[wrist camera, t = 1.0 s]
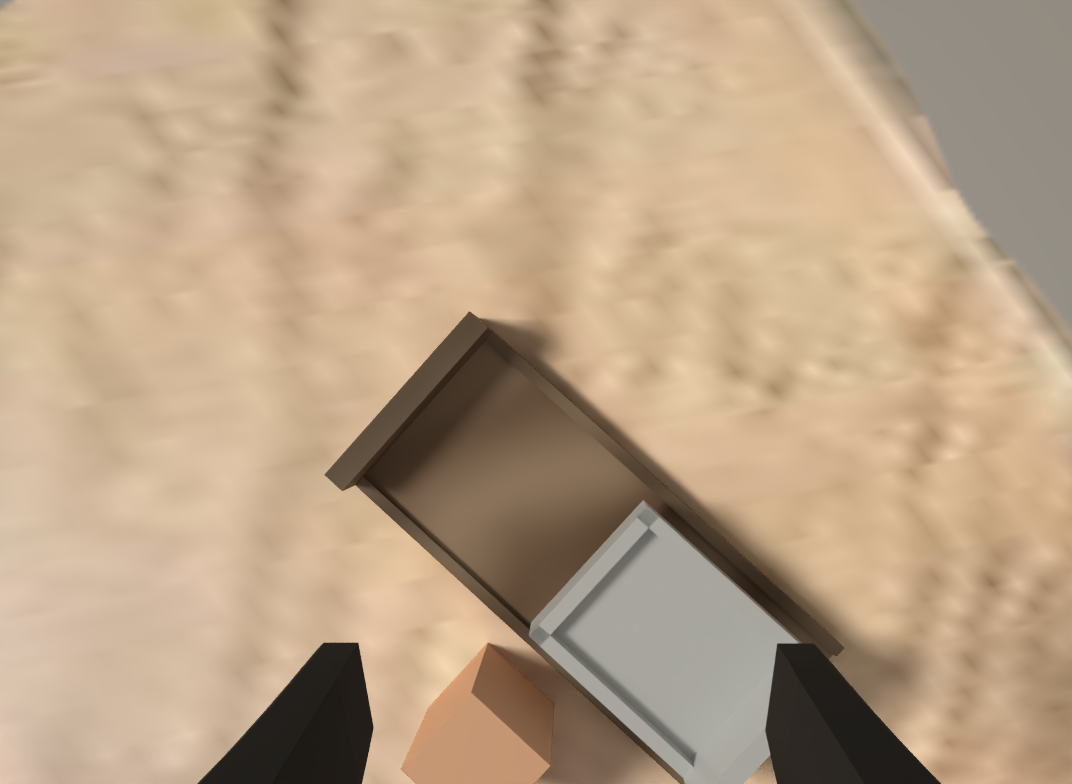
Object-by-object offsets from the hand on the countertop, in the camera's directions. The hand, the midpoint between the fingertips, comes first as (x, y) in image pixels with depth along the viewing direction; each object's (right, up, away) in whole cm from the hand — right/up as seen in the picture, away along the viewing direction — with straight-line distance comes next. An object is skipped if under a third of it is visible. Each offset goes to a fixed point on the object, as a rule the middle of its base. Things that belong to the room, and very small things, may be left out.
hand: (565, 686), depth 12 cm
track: (+2, -2, +18) cm, 19 cm away
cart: (+5, -5, +18) cm, 19 cm away
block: (-3, -9, +19) cm, 21 cm away
